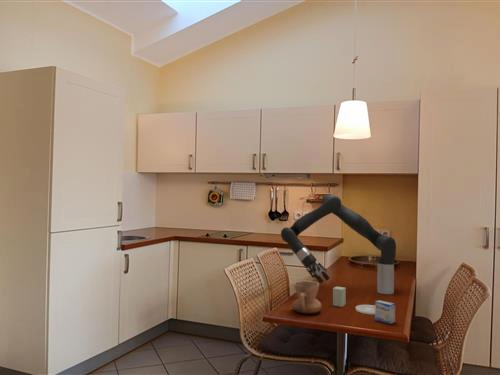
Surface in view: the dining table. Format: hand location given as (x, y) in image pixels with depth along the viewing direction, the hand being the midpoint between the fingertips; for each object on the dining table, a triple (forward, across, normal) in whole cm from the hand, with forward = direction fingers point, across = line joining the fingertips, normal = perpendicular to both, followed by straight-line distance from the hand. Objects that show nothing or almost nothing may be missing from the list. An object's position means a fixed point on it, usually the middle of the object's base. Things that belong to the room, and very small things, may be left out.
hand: (325, 280), depth 221 cm
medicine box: (+33, -13, -16) cm, 39 cm away
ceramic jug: (+8, -21, +9) cm, 24 cm away
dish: (+25, -1, -9) cm, 27 cm away
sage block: (+14, 0, +3) cm, 14 cm away
